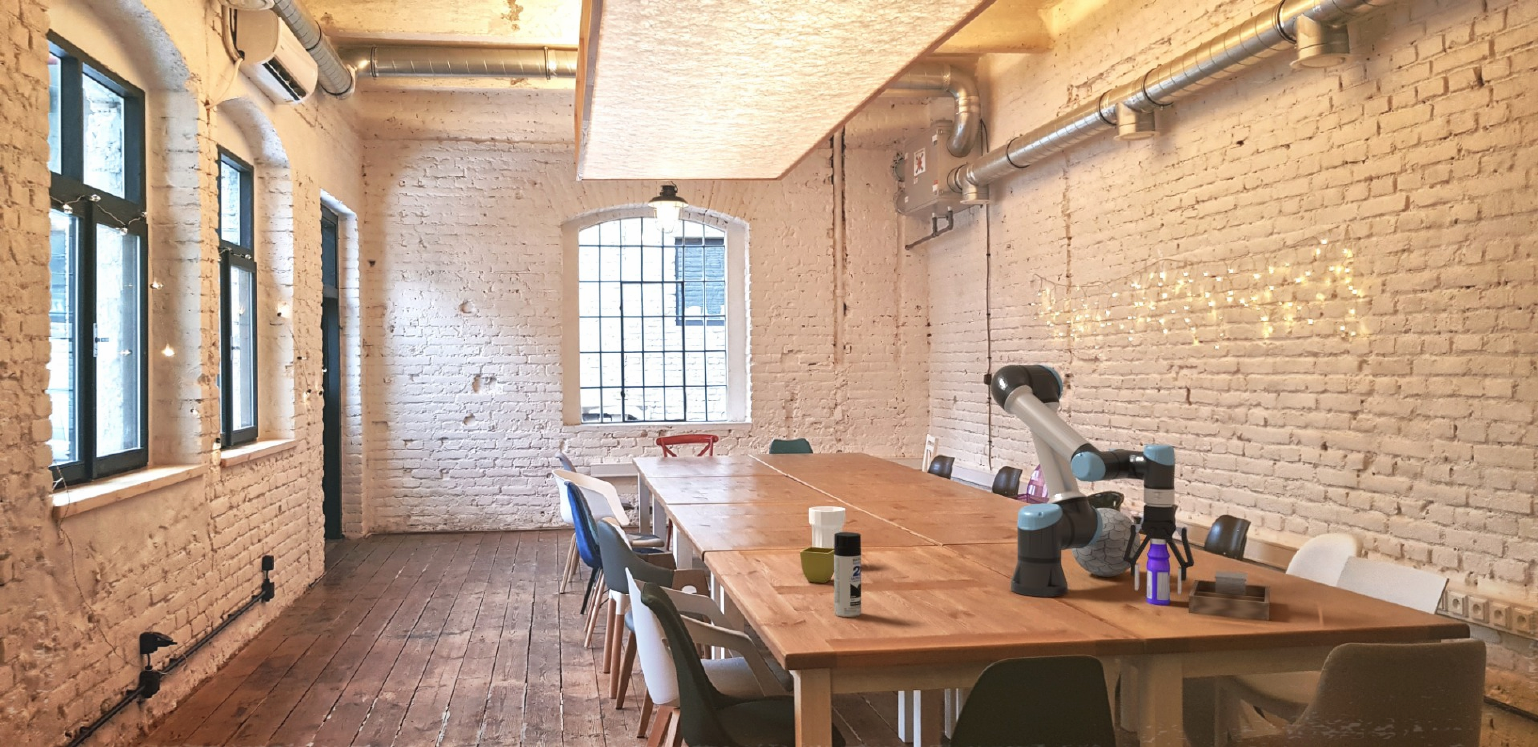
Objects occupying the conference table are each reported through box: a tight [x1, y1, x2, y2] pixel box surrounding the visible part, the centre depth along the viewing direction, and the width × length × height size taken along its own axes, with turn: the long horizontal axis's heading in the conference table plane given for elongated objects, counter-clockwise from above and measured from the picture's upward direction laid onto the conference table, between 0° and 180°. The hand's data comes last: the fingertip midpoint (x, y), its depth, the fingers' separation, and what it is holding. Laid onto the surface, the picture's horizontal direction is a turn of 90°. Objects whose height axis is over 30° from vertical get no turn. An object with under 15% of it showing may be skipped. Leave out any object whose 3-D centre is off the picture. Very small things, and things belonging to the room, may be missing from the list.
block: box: [1214, 570, 1248, 596], centre depth 275 cm, size 7×8×7 cm
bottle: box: [1145, 539, 1171, 606], centre depth 275 cm, size 7×6×17 cm
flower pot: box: [799, 546, 834, 584], centre depth 303 cm, size 9×9×9 cm
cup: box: [808, 505, 847, 548], centre depth 327 cm, size 11×11×17 cm
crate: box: [1188, 579, 1271, 622], centre depth 270 cm, size 18×22×5 cm
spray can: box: [833, 531, 862, 618], centre depth 263 cm, size 7×7×20 cm
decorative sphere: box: [1070, 507, 1141, 578], centre depth 313 cm, size 20×20×20 cm
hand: (1158, 590), depth 275 cm, fingers open, 10 cm apart
